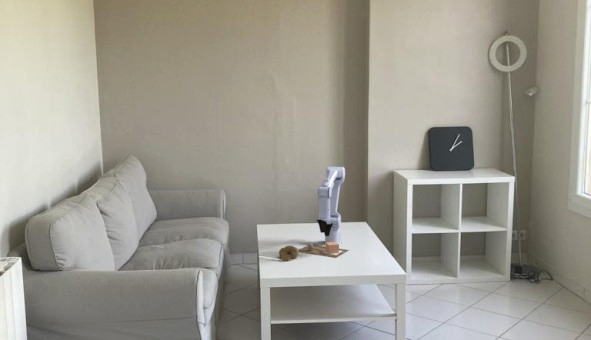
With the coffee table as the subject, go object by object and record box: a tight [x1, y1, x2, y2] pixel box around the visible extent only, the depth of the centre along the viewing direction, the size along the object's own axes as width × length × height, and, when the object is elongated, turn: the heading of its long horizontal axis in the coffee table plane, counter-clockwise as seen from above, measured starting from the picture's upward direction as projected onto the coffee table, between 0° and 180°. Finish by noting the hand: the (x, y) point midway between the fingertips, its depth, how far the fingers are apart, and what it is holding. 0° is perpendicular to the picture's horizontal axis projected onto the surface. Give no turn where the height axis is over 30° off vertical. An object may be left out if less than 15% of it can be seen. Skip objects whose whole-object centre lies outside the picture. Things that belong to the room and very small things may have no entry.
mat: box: [323, 250, 343, 255], centre depth 318 cm, size 8×8×1 cm
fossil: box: [278, 245, 300, 263], centre depth 310 cm, size 9×4×10 cm
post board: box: [298, 242, 350, 259], centre depth 321 cm, size 16×24×4 cm, turn 60°
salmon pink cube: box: [325, 242, 340, 254], centre depth 317 cm, size 5×5×4 cm
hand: (324, 234), depth 322 cm, fingers open, 7 cm apart
